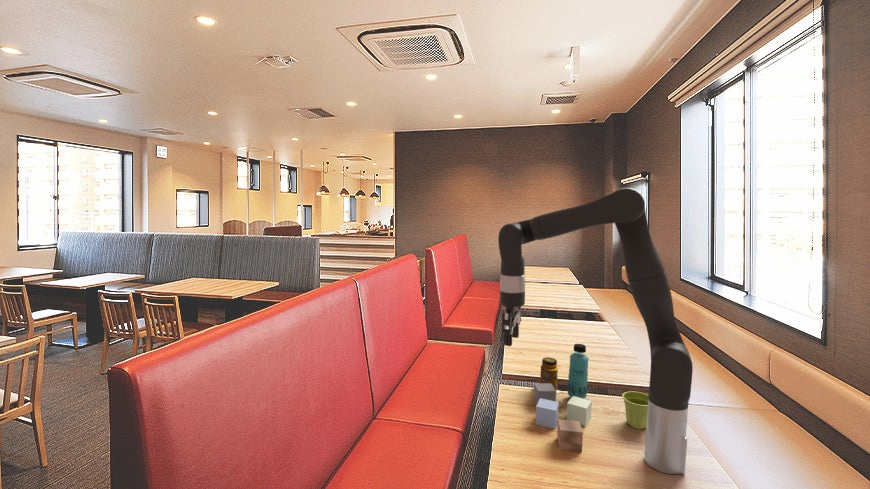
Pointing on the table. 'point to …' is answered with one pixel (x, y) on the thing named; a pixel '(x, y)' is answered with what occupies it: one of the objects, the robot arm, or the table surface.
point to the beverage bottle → (578, 372)
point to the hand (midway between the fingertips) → (511, 341)
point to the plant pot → (636, 408)
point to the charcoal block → (544, 392)
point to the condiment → (549, 372)
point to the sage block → (579, 410)
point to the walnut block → (569, 435)
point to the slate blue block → (547, 413)
